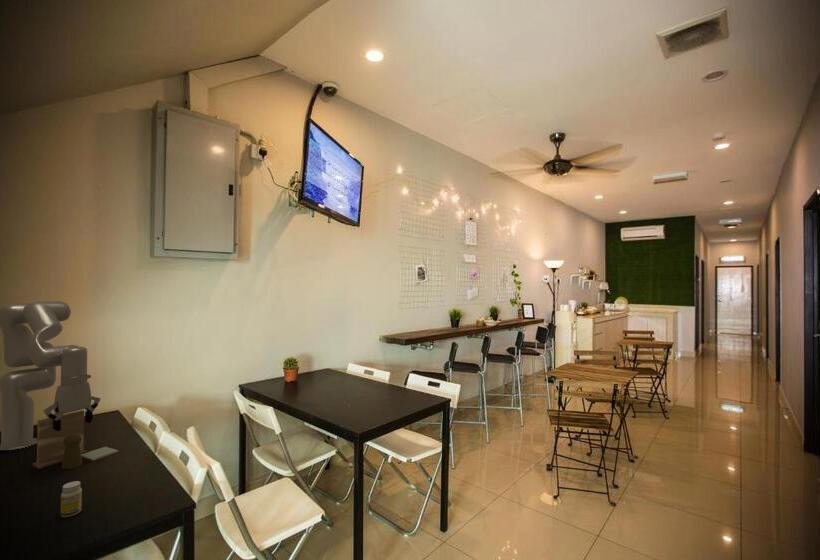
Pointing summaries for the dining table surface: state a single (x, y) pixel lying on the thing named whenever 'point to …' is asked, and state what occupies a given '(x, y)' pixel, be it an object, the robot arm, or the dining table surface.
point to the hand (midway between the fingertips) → (73, 426)
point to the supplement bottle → (71, 499)
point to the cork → (72, 452)
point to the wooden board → (57, 438)
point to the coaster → (99, 453)
